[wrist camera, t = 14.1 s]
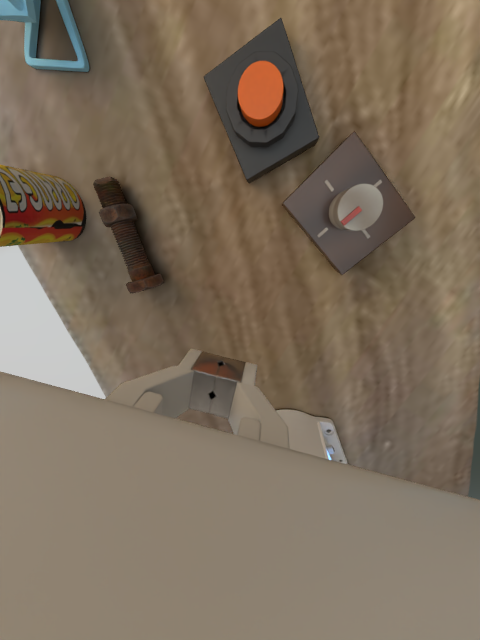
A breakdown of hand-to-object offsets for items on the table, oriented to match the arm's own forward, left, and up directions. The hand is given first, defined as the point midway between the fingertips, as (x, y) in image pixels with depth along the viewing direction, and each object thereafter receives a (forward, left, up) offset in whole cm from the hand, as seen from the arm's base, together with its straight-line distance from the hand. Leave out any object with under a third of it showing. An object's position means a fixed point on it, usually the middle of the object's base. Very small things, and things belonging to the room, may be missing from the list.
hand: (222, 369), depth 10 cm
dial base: (0, -13, -27) cm, 30 cm away
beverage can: (+24, +21, -27) cm, 42 cm away
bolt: (+14, +13, -27) cm, 33 cm away
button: (+15, -10, -23) cm, 29 cm away
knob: (0, -13, -24) cm, 27 cm away
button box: (+15, -10, -27) cm, 32 cm away
